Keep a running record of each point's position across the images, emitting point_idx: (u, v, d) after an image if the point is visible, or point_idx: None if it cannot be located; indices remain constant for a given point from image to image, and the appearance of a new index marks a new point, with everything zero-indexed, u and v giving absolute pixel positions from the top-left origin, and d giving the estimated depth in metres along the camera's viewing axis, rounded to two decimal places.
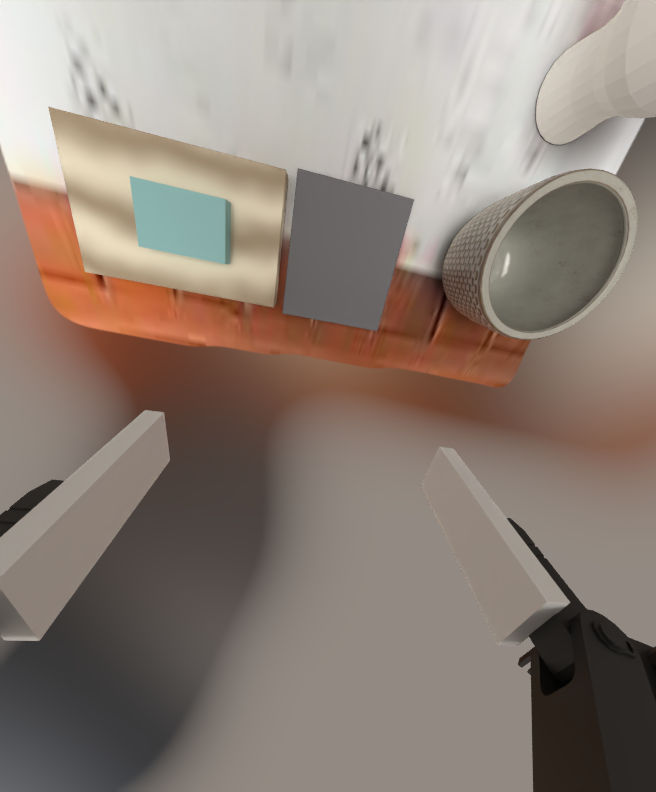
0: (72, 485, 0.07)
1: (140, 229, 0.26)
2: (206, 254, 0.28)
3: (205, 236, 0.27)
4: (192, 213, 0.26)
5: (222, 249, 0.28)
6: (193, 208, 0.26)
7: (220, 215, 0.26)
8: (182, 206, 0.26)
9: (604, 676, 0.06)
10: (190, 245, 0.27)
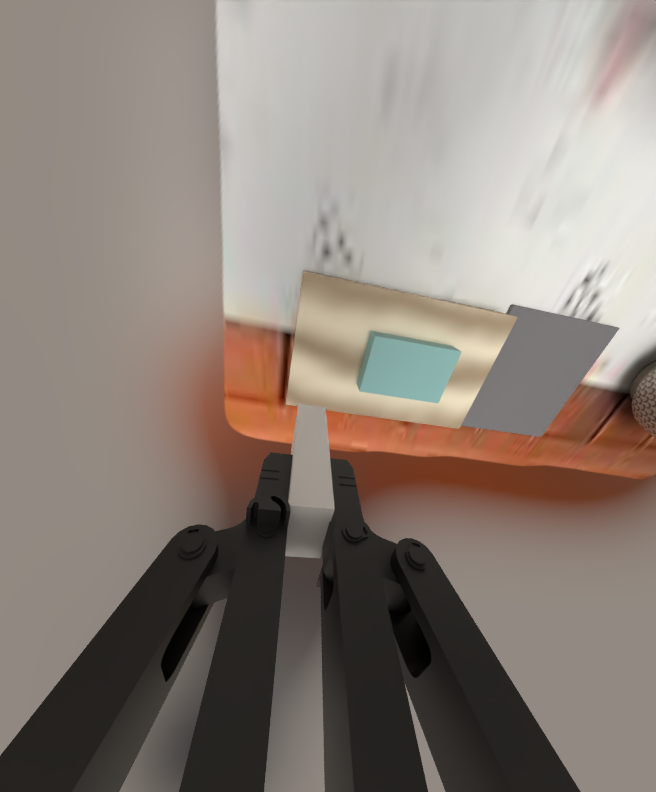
0: (301, 454, 0.10)
1: (367, 378, 0.26)
2: (423, 396, 0.27)
3: (428, 381, 0.26)
4: (424, 364, 0.25)
5: (440, 391, 0.27)
6: (426, 359, 0.25)
7: (451, 364, 0.26)
8: (416, 358, 0.25)
9: (348, 573, 0.07)
10: (411, 389, 0.27)
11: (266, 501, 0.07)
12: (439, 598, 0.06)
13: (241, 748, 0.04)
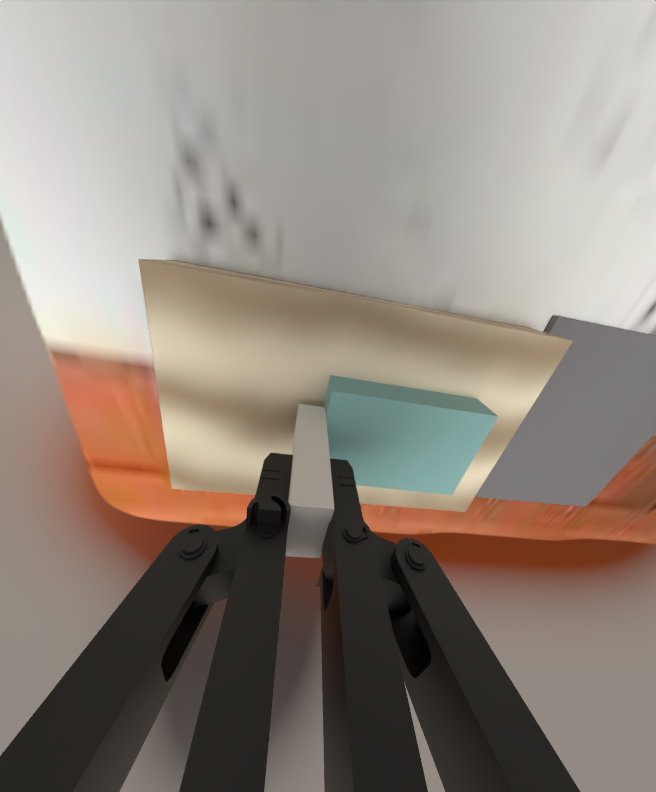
0: (301, 454, 0.10)
1: None
2: (425, 485, 0.16)
3: (436, 464, 0.15)
4: (427, 437, 0.14)
5: (456, 478, 0.15)
6: (432, 430, 0.14)
7: (477, 437, 0.14)
8: (414, 428, 0.13)
9: (347, 573, 0.07)
10: (404, 475, 0.15)
11: (266, 501, 0.07)
12: (439, 598, 0.06)
13: (242, 749, 0.04)
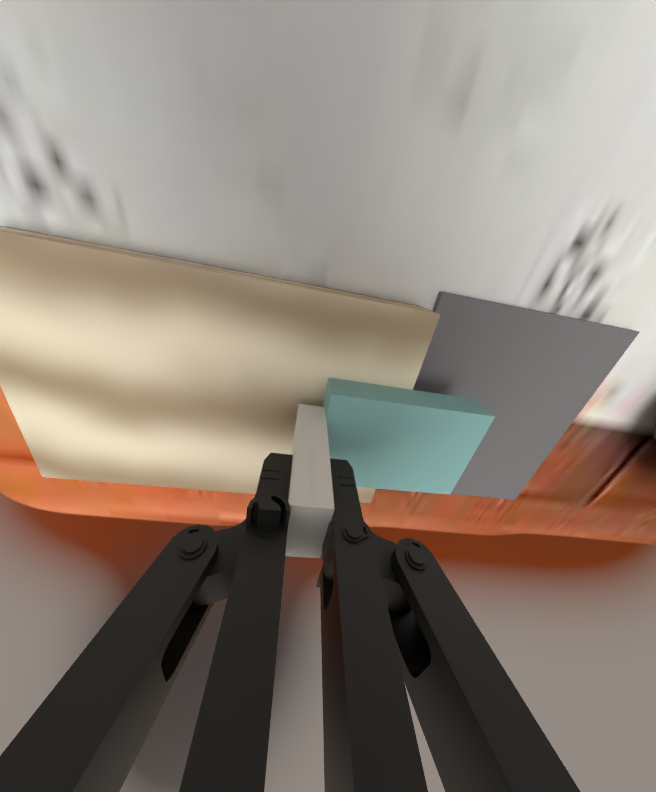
0: (301, 454, 0.10)
1: None
2: (424, 485, 0.16)
3: (434, 464, 0.15)
4: (426, 438, 0.14)
5: (455, 477, 0.16)
6: (430, 431, 0.14)
7: (474, 437, 0.14)
8: (412, 430, 0.14)
9: (347, 573, 0.07)
10: (403, 476, 0.15)
11: (266, 501, 0.07)
12: (439, 598, 0.06)
13: (242, 749, 0.04)
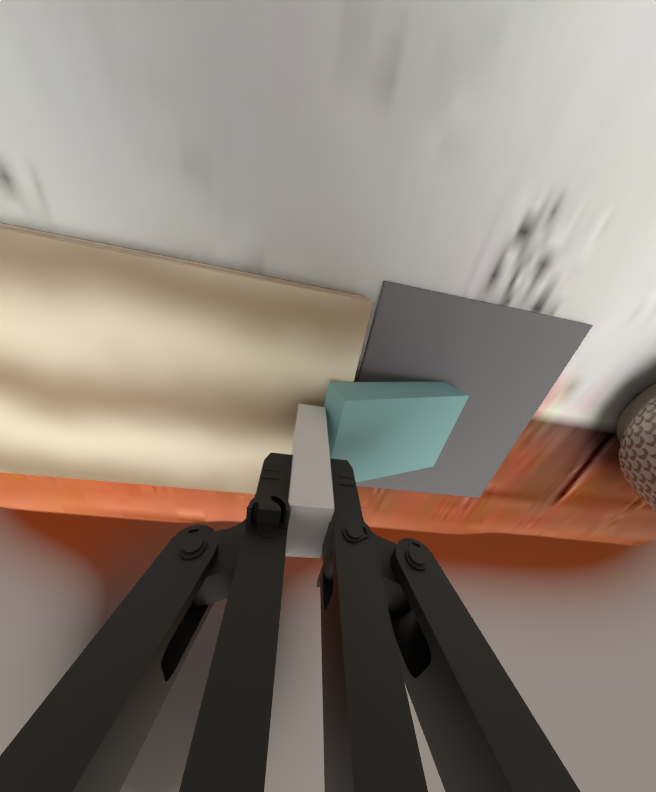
0: (301, 454, 0.10)
1: None
2: (415, 464, 0.17)
3: (424, 445, 0.17)
4: (420, 424, 0.15)
5: (437, 451, 0.18)
6: (424, 417, 0.15)
7: (454, 415, 0.16)
8: (410, 419, 0.15)
9: (347, 573, 0.07)
10: (400, 461, 0.16)
11: (266, 501, 0.07)
12: (439, 598, 0.06)
13: (242, 749, 0.04)
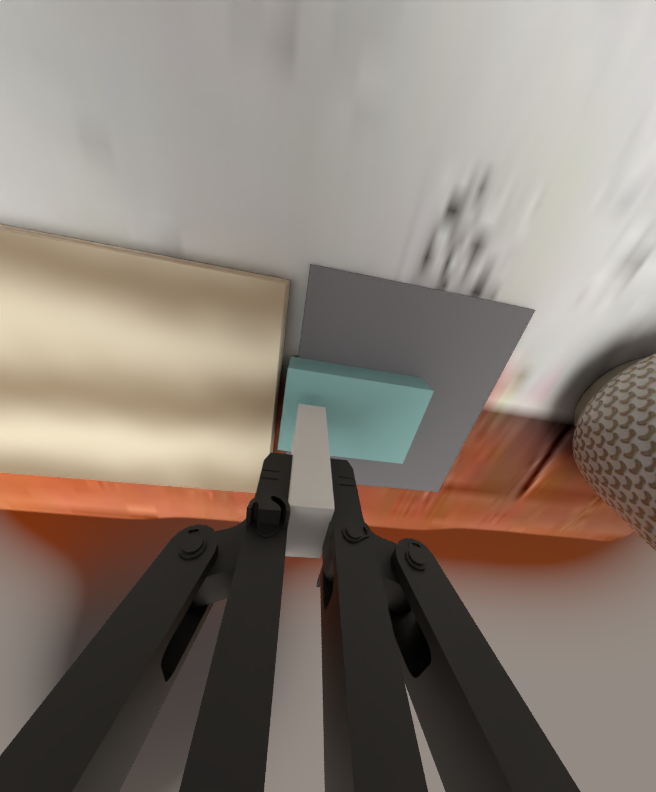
0: (301, 454, 0.10)
1: (286, 431, 0.16)
2: (378, 454, 0.18)
3: (385, 434, 0.17)
4: (374, 409, 0.16)
5: (405, 447, 0.18)
6: (378, 403, 0.16)
7: (418, 410, 0.16)
8: (361, 401, 0.16)
9: (348, 573, 0.07)
10: (358, 445, 0.17)
11: (266, 501, 0.07)
12: (439, 598, 0.06)
13: (242, 749, 0.04)
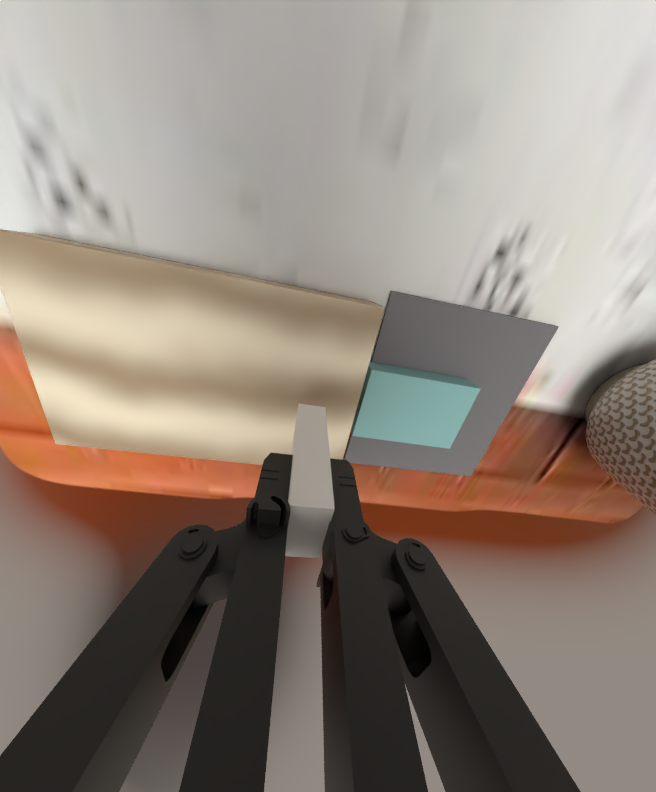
0: (301, 454, 0.10)
1: (362, 420, 0.20)
2: (431, 440, 0.22)
3: (438, 424, 0.21)
4: (433, 403, 0.20)
5: (453, 435, 0.22)
6: (436, 398, 0.20)
7: (466, 404, 0.20)
8: (424, 397, 0.20)
9: (348, 573, 0.07)
10: (416, 432, 0.21)
11: (266, 501, 0.07)
12: (439, 598, 0.06)
13: (242, 750, 0.04)
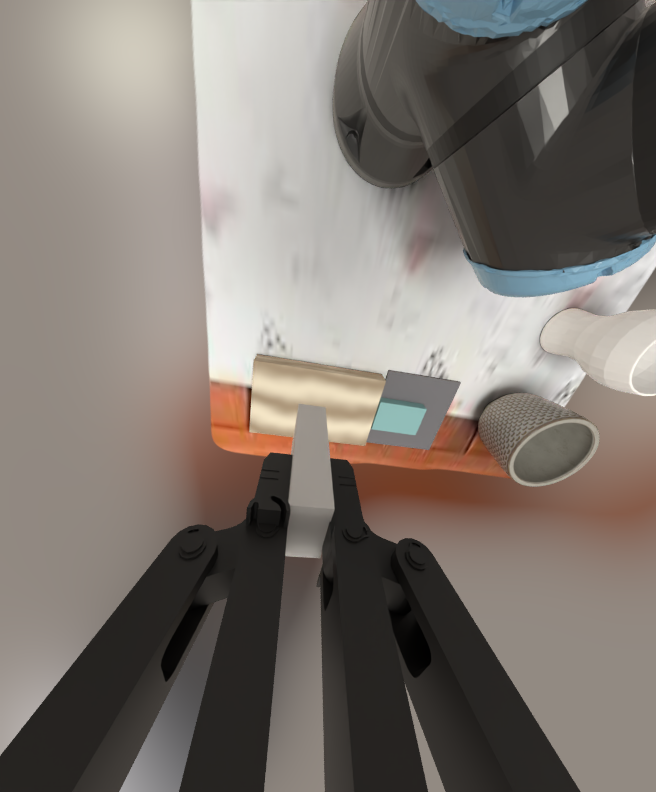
0: (301, 454, 0.10)
1: (376, 422, 0.47)
2: (406, 431, 0.49)
3: (409, 424, 0.48)
4: (406, 415, 0.47)
5: (416, 429, 0.49)
6: (408, 413, 0.47)
7: (421, 415, 0.47)
8: (402, 412, 0.47)
9: (347, 573, 0.07)
10: (399, 427, 0.48)
11: (266, 501, 0.07)
12: (439, 598, 0.06)
13: (242, 749, 0.04)
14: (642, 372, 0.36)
